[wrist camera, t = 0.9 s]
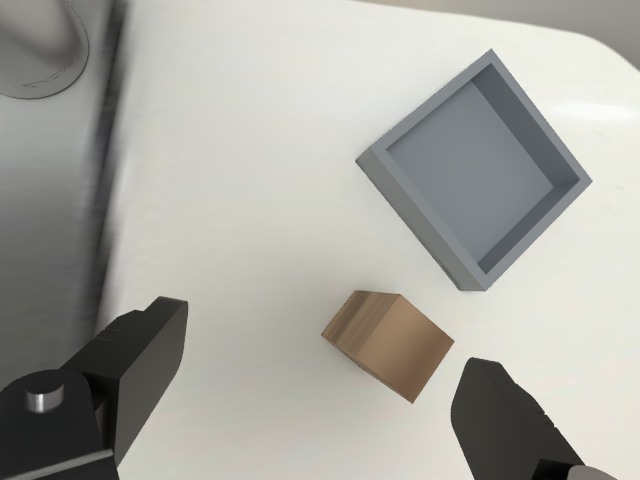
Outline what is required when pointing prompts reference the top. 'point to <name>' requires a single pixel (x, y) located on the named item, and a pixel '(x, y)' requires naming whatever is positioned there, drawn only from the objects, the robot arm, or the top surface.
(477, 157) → the box
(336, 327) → the walnut block
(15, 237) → the top surface
